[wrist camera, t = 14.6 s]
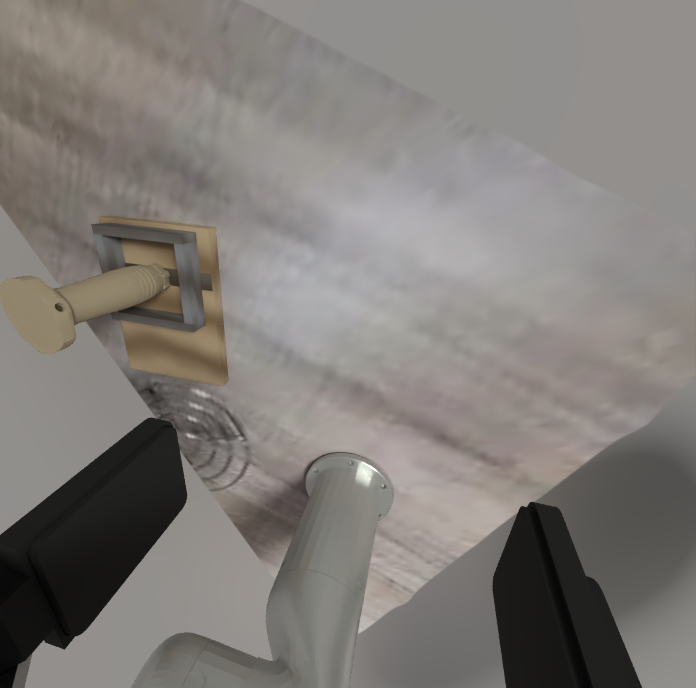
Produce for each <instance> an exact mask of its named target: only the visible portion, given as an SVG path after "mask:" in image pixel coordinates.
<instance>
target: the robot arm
mask: <svg viewBox="0 0 696 688" xmlns="http://www.w3.org/2000/svg"><path fill="white" fill-rule="evenodd" d="M305 486H306V490H307V493H308V496H309V499H308V502H307V504H306V507H305V509H304V512H303V514H302V516H301V519H300V521H299V524H298V526H297V529H296V531H295V534H294V536H293V538H292V541H291V543H290V546H289V548H288V551H287V553H286V555H285V558H284V560H283V563H282V565H281V568H280V570H279V572H278V575H277V577H276V580H275V582H274V585H273V587H272V590H271V592H270V595H269V598H268V603H267V609H266V628H267V634H268V640H269V644H270V648H271V653H272V658H273V661H268V660H265V659H262V658H259V657H258V658H257V657H254V656H252V655H249V654H247V653H244V652H242V651H239V650H237V649H234V648H232V647H230V646H227V645H224V644H222V643H220V642H217V641H215V640H211V639H209V638H207V637H204V636H201V635H197V634H194V633H179V634H175V635H173V636H171V637H169V638H168V639H166V640H165V641H164V642H163V643H162V644H161V645H159V646H158V648H157V649H156V650H155V651H154V652H153V653H152V655H151V656H150V657H149V659H148V660H147V662H146V663H145V665H144V666H143V668H142V669H141V671H140V673H139V674H138V676H137V678H136V680H135V681H134V683H133V685H132V687H131V688H350V682H351V674H352V666H353V658H354V652H355V646H356V639H357V634H358V628H359V622H360V617H361V611H362V605H363V600H364V594H365V589H366V583H367V577H368V572H369V566H370V560H371V555H372V549H373V544H374V538H375V532H376V527H377V521H379V520H381V519H382V518H383V517H385V516H386V515H387V513H388V512H389V510H390V509H391V506H392V501H393V488H392V485H391V482H390V480H389V479H388V477H387V475H386V474H385V473H384V472H383V471H382V470H381V469H380V468H379V467H378V466H377V465H375V464H374V463H372V462H371V461H369V460H367V459H365V458H363V457H360V456H357V455H354V454H349V453H333V454H328V455H325V456H323V457H321V458H319V459H318V460H316V461H315V462H314V463H313V464H312V466H311V467H310V469H309V471H308V473H307V476H306V485H305ZM186 500H187V491H186V485H185V479H184V473H183V467H182V461H181V455H180V449H179V443H178V437H177V432H176V429H175V428H173V425H172V423H171V422H169V421H164V420H160V419H155V418H148V419H146V420H144V421H143V422H142V423H141V424H139V425H138V426H137V427H135V428H134V429H133V430H132V431H130V432H129V433H128V434H127V435H125V436H124V437H123V438H122V439H120V440H119V441H118V442H117V443H115V444H114V445H113V446H112V447H110V448H109V449H108V450H106V451H105V452H104V453H103V454H102V455H100V456H99V457H98V458H97V459H95V460H94V461H93V462H91V463H90V464H89V465H88V466H86V467H85V468H84V469H83V470H81V471H80V472H79V473H78V474H76V475H75V476H74V477H73V478H71V479H70V480H69V481H68V482H66V483H65V484H64V485H62V486H61V487H60V488H59V489H58V490H56V491H55V492H54V493H52V494H51V495H50V496H49V497H47V498H46V499H45V500H44V501H43V502H41V503H40V504H39V505H37V506H36V507H35V508H34V509H33V510H31V511H30V512H29V513H27V514H26V515H25V516H24V517H22V518H21V519H20V520H19V521H17V522H16V523H15V524H13V525H12V526H11V527H10V528H8V529H7V530H6V531H5V532H3V533H2V534H1V535H0V688H24V687H25V683H26V678H27V674H28V670H29V666H30V661H31V657H32V653H33V652H34V650H35V649H36V648H37V647H38V646H39V644H40V643H41V642H42V641H43V640H44V641H45V642H46V643H48V644H51V645H54V646H56V647H59V648H62V649H65V648H66V647H67V646H68V645H69V643H70V642H71V641H72V640H73V638H74V637H75V636H78V635H80V634H82V633H83V632H84V631H85V630H86V629H87V628H88V627H89V626H90V624H91V623H92V622H93V621H94V620H95V618H96V617H97V616H98V615H99V613H100V612H101V611H102V609H103V608H104V607H105V606H106V604H107V603H108V602H109V601H110V599H111V598H112V597H113V595H114V594H115V593H116V592H117V591H118V589H119V588H120V587H121V585H122V584H123V583H124V582H125V580H126V579H127V578H128V577H129V575H130V574H131V573H132V572H133V570H134V569H135V568H136V566H137V565H138V564H139V563H140V562H141V560H142V559H143V558H144V556H145V555H146V554H147V553H148V551H149V550H150V549H151V548H152V546H153V545H154V544H155V543H156V541H157V540H158V539H159V538H160V536H161V535H162V534H163V533H164V531H165V530H166V529H167V527H168V526H169V525H170V524H171V522H172V521H173V520H174V518H175V517H176V516H177V515H178V514H179V512H180V511H181V510H182V508H183V507H184V505H185V503H186ZM493 596H494V603H495V611H496V618H497V625H498V632H499V639H500V646H501V653H502V661H503V668H504V675H505V682H506V688H642V686H641V684H640V681H639V679H638V677H637V674H636V672H635V669H634V667H633V664H632V662H631V660H630V657H629V655H628V652H627V650H626V648H625V645H624V643H623V640H622V638H621V635H620V633H619V630H618V628H617V626H616V623H615V621H614V618H613V616H612V614H611V611H610V608H609V606H608V604H607V601H606V599H605V596H604V594H603V592H602V590H601V588H600V586H599V584H598V583H597V582H596V581H595V580H594V579H592V578H590V577H587V576H585V573H584V571H583V568H582V565H581V562H580V560H579V558H578V555H577V552H576V550H575V547H574V544H573V542H572V539H571V537H570V534H569V531H568V529H567V527H566V523H565V521H564V518H563V516H562V513H561V511H560V510H559V509H558V508H557V507H552V506H548V505H543V504H539V503H535V502H530V503H529V505H528V506H527V507H524V506H521V507H520V509H519V511H518V514H517V517H516V519H515V522H514V524H513V527H512V530H511V532H510V535H509V537H508V540H507V542H506V545H505V548H504V550H503V553H502V556H501V558H500V560H499V563H498V566H497V568H496V571H495V573H494V577H493Z"/></svg>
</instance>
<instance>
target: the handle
mask: <svg viewBox="0 0 696 688" xmlns="http://www.w3.org/2000/svg"><path fill="white" fill-rule="evenodd" d="M169 278H170V273H169V272H168V271H166V270H165V269H163V268H162V266H161V265H160V264H157V263H153V264H149V265H137V266H129V267H124V268H120V269H116V270H112V271H109V272H106V273H103V274H100V275H97V276H94V277H91V278H88V279H86V280H83V281H79V282H76V283H73V284H70V285H67V286H64V287H60V288H55V289H52V288H51V287H50V286H48V285H47V284H46V283H44V282H43V281H42V280H40V279H39V278H37V277H33V276H22V277H17V278H12V279H8V280H6V281H4V282H2V284H1V285H0V300H1V303H2V306H3V309H4V311H5V313H6V315H7V317H8V318H9V320H10V321H11V323H12V324H13V326H14V327H15V329H16V330H17V331H18V333H19V334H20V335H21V337H22V338H23V339H25V340H26V341H27V342H28V343H29V344H30V345H31V346H32V347H33V348H35V349H36V350H37V351H38V352H41V353H44V354H52V353H55V352H58V351H60V350H62V349H64V348H67V347H68V346H70V345H71V344H73V343H74V341H75V338H76V334H75V326H74V325H76V324H78V323H80V322H84V321H87V320H90V319H93V318H96V317H99V316H102V315H105V314H109V313H112V312H116V311H119V310H122V309H126V308H129V307H132V306H135V305H137V304H140V303H142V302H144V301H146V300H148V299H150V298H152V297H154V296H155V295H157V294H158V293H159V292H160V291H162V290H163V291H164V290H166V289H168V288H169V287H170V281H169Z"/></svg>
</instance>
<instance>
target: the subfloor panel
mask: <svg viewBox="0 0 696 688" xmlns="http://www.w3.org/2000/svg"><path fill="white" fill-rule="evenodd" d="M98 218H99V222H100V224H91V225H92V230H93V234H94V239H95V243H96V247H97V252H98V256H99V261H100V265H101V270H102V274H103V273H106V272H109V271H112V270H116V269H120V268H124V267H129V266H137V265H149V264H153V263H157V264H160V265H161V266H162V268H163V269H165V270H166V271H168V272H169V273H170V278H169V281H170V287H169V288H168V289H166V290H164V291H163V290H162V291H160V292H159V293H158V294H157V295H155V296H154V297H152V298H150V299H148V300H146V301H144V302H142V303H140V304H137V305H135V306H132V307H129V308H126V309H122V310H119V311H116V312H112V313H111V314H112V319H116V320H121V325H122V329H123V334H124V339H125V343H126V348H127V352H128V357H129V362H130V366H131V369H136V370H141V371H146V372H152V373H157V374H162V375H167V376H172V377H177V378H182V379H187V380H192V381H198V382H203V383H208V384H213V385H218V386H223V385H224V384H225V383H227V382H228V371H227V359H226V347H225V335H224V323H223V311H222V299H221V288H220V276H219V264H218V252H217V240H216V228H215V227H208V226H199V225H189V224H180V223H171V222H162V221H153V220H143V219H134V218H125V217H116V216H100V217H98Z"/></svg>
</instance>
